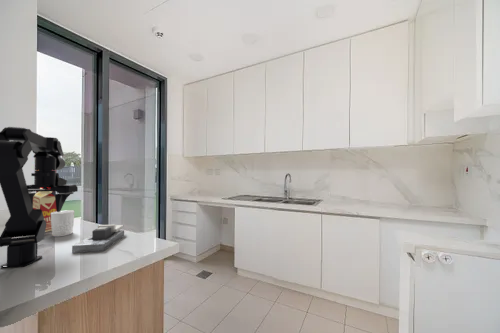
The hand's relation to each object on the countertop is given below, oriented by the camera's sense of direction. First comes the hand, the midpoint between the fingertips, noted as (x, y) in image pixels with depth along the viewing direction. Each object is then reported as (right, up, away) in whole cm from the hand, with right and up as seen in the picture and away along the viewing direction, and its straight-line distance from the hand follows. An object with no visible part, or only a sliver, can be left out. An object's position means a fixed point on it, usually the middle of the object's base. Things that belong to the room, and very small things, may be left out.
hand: (44, 212), depth 77 cm
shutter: (+17, -10, +11) cm, 23 cm away
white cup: (-7, -13, +15) cm, 21 cm away
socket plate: (+18, -13, +4) cm, 23 cm away
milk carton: (-21, -14, +20) cm, 32 cm away
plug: (+18, -13, +4) cm, 23 cm away
